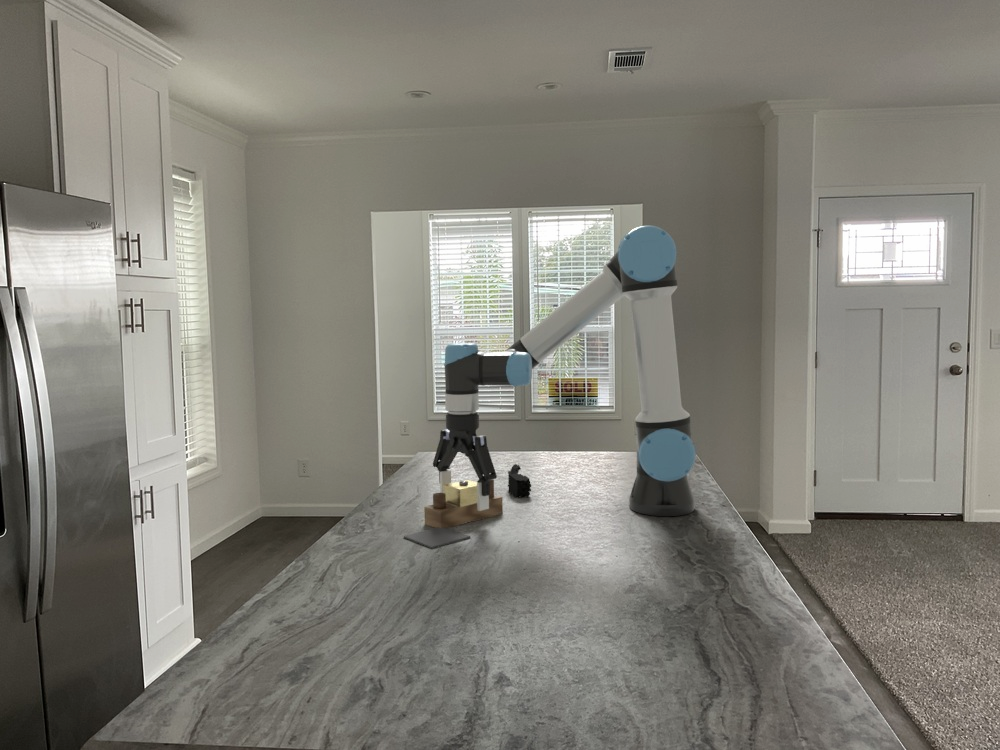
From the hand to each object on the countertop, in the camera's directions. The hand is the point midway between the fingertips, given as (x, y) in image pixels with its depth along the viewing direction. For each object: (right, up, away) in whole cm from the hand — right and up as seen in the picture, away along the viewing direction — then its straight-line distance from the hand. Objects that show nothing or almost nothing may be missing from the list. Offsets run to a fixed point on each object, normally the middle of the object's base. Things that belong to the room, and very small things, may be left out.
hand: (464, 503), depth 169 cm
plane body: (0, -3, 0) cm, 4 cm away
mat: (-5, -5, -14) cm, 15 cm away
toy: (+13, -1, +25) cm, 28 cm away
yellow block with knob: (0, 0, 0) cm, 0 cm away
